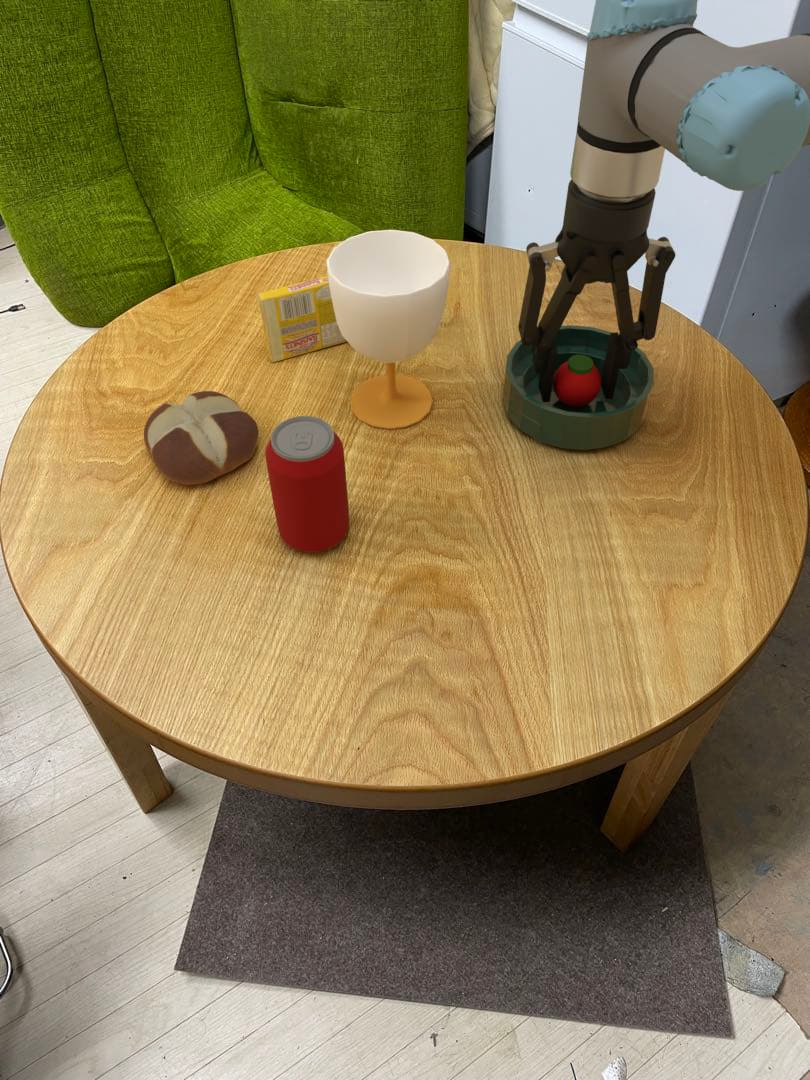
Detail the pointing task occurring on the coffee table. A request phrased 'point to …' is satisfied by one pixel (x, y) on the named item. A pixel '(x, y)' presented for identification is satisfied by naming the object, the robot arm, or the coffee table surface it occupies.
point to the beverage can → (308, 483)
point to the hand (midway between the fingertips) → (575, 392)
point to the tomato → (577, 381)
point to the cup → (389, 316)
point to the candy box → (299, 319)
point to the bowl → (587, 423)
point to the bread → (200, 437)
